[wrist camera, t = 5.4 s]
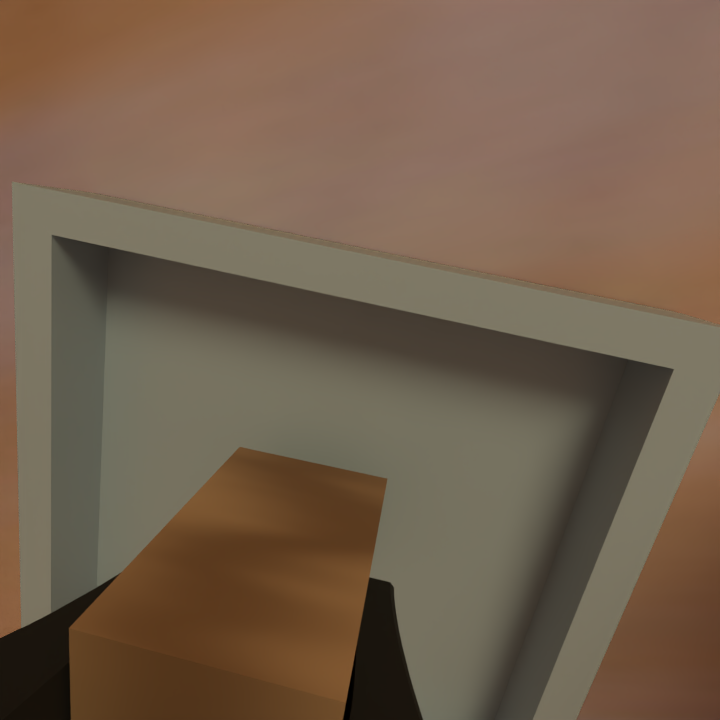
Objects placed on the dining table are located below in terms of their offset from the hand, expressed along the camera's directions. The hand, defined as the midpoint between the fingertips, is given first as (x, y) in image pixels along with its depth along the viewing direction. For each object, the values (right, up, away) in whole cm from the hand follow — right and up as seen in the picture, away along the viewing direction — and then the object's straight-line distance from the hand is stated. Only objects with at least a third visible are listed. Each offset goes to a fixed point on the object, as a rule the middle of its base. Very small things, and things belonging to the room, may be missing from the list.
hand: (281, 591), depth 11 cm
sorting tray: (+1, +1, +4) cm, 4 cm away
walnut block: (0, +1, +2) cm, 2 cm away
